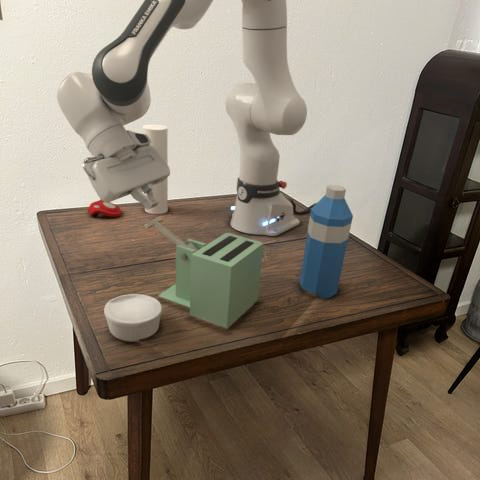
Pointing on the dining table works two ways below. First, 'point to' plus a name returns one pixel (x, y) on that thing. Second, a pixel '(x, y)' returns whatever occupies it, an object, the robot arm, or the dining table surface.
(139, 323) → the ramekin
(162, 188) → the cylindrical container
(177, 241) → the lever
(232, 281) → the toaster
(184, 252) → the switch bracket
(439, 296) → the dining table surface
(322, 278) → the water bottle
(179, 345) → the dining table surface
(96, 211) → the tracker holder
